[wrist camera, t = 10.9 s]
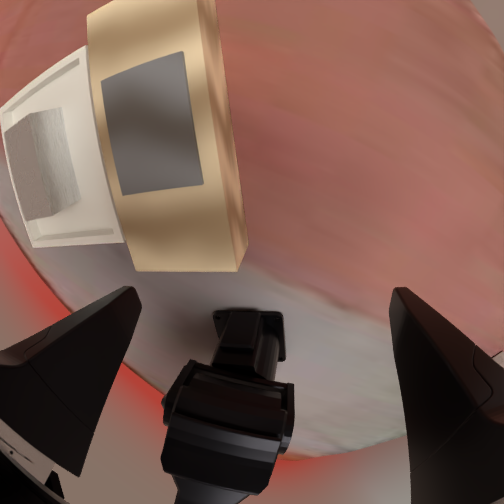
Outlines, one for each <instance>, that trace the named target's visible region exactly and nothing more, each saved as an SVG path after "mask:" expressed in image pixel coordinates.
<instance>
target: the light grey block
mask: <svg viewBox="0 0 504 504" xmlns="http://www.w3.org/2000/svg"><path fill="white" fill-rule="evenodd" d="M4 137H5V143H6V148H7V154H8V159H9V164H10V168H11V172H12V177H13V181H14V185H15V188H16V192H17V196H18V199H19V202H20V206H21V209H22V212H23V215H24V218H25V221H31V220H35V219H40V218H45V217H50V216H53V215H55V214H56V213H58V212H60V211H61V210H63V209H65V208H66V207H68V206H70V205H71V204H73V203H75V202H77V201H78V200H80V199H81V195H80V192H79V188H78V184H77V180H76V176H75V172H74V168H73V164H72V159H71V155H70V150H69V145H68V140H67V135H66V129H65V123H64V117H63V110H62V107H60V108H54V109H49V110H44V111H39V112H34V113H30V114H28V115H27V116H25V117H24V118H22V119H21V120H20V121H18V122H17V123H16V124H14V125H13V126H12V127H11V128H9V129H8V130H7V131H6V132H4Z"/></svg>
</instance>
